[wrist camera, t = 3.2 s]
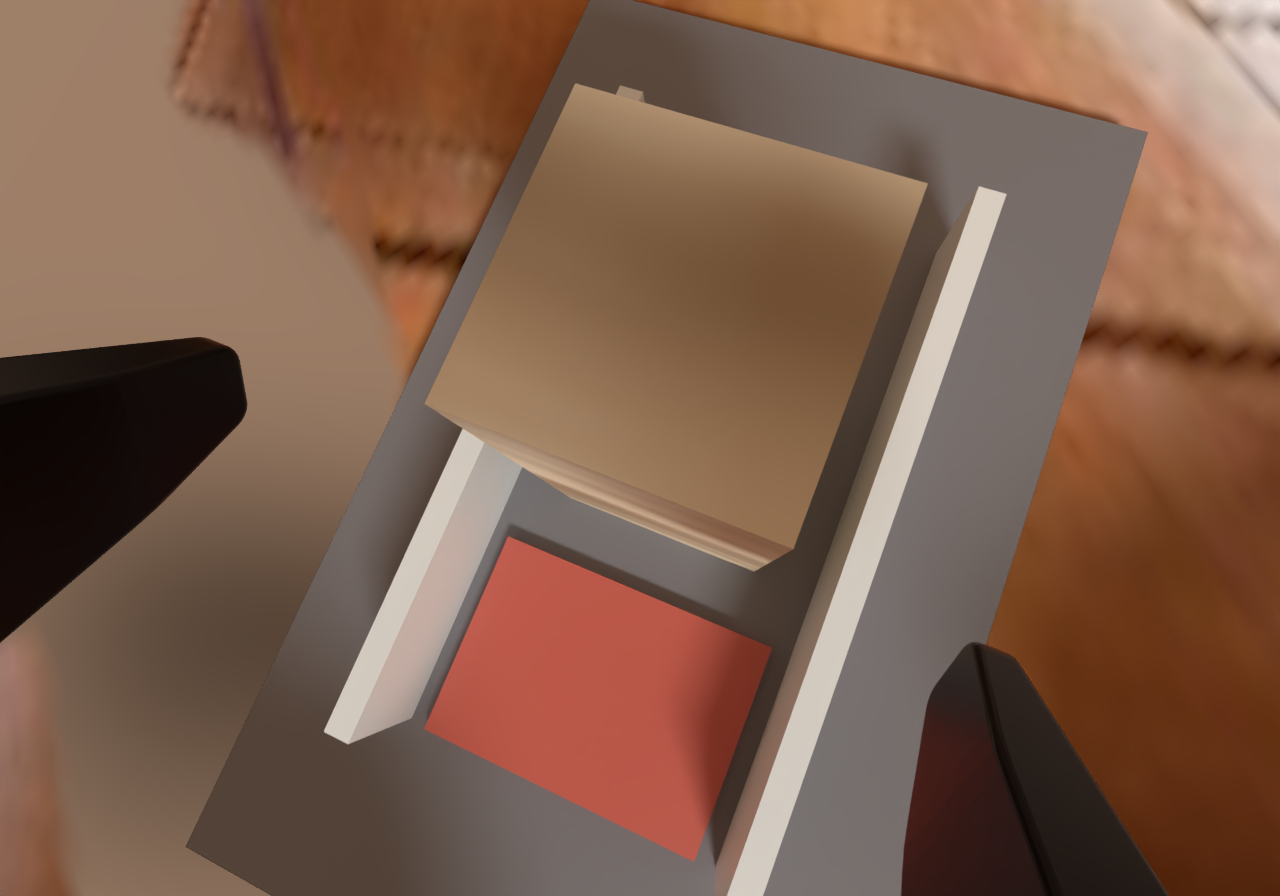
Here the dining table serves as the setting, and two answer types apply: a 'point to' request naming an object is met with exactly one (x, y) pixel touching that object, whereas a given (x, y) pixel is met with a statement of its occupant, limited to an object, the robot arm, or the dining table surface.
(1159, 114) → the dining table surface
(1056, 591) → the dining table surface
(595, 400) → the birch block
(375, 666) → the grey railed tray
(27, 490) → the robot arm
